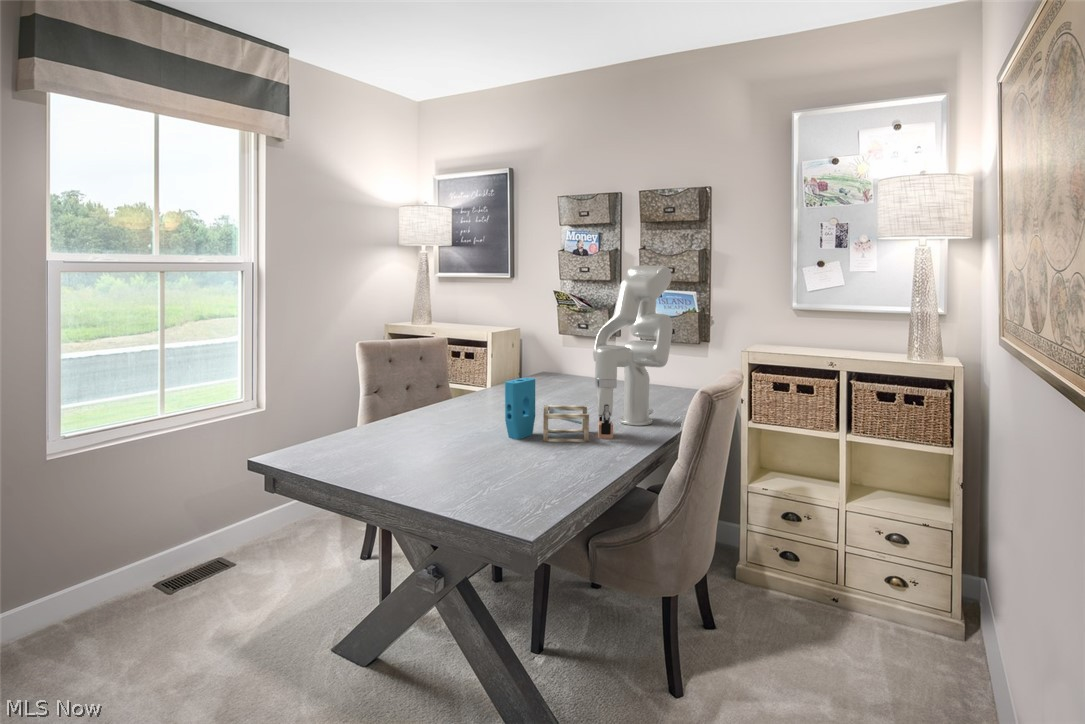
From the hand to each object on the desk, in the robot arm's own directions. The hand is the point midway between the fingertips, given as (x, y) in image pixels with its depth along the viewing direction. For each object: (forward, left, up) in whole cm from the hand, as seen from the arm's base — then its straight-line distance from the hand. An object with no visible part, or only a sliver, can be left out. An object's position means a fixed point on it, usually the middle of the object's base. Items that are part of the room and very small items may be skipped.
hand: (604, 431), depth 225 cm
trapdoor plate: (+9, -11, +5) cm, 15 cm away
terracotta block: (0, 0, -2) cm, 2 cm away
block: (+19, -23, -2) cm, 30 cm away
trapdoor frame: (+9, -11, -2) cm, 14 cm away
